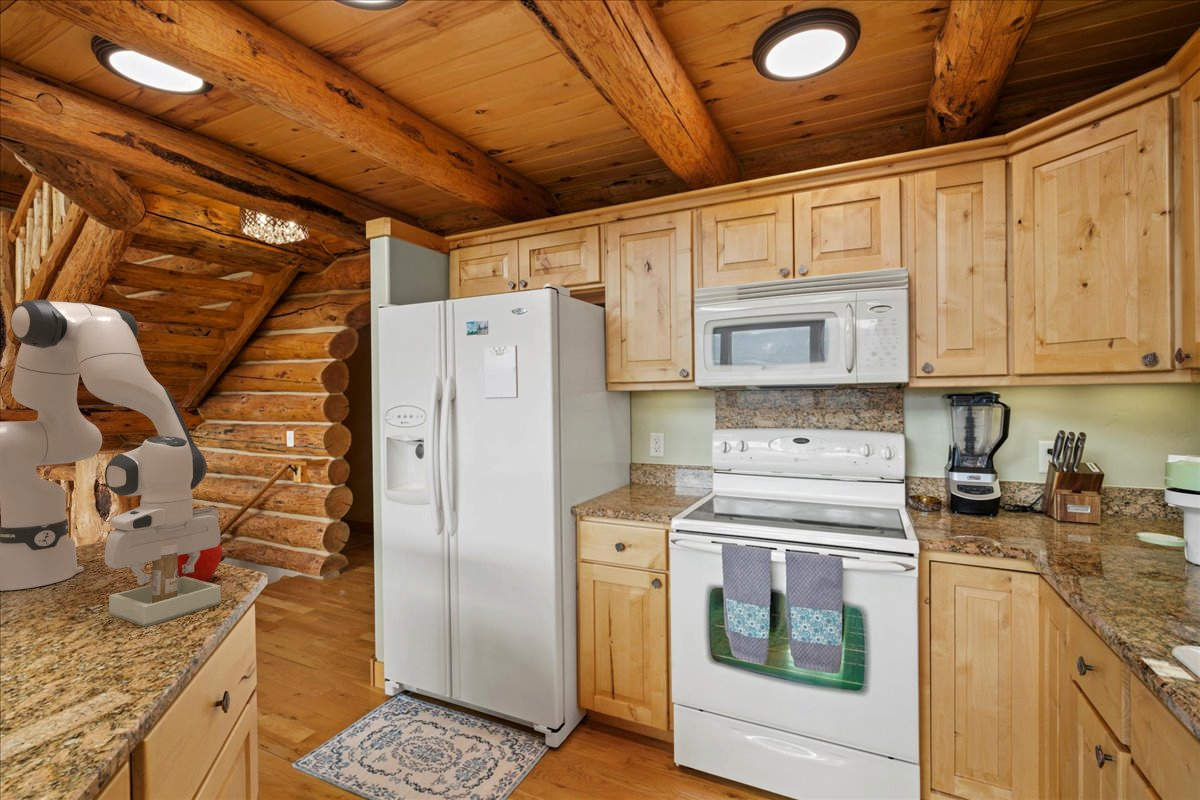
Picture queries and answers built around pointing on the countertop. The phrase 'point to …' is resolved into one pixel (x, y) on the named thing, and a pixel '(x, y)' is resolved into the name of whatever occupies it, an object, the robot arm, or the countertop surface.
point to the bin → (164, 602)
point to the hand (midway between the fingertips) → (166, 578)
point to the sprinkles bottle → (165, 574)
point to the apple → (202, 563)
